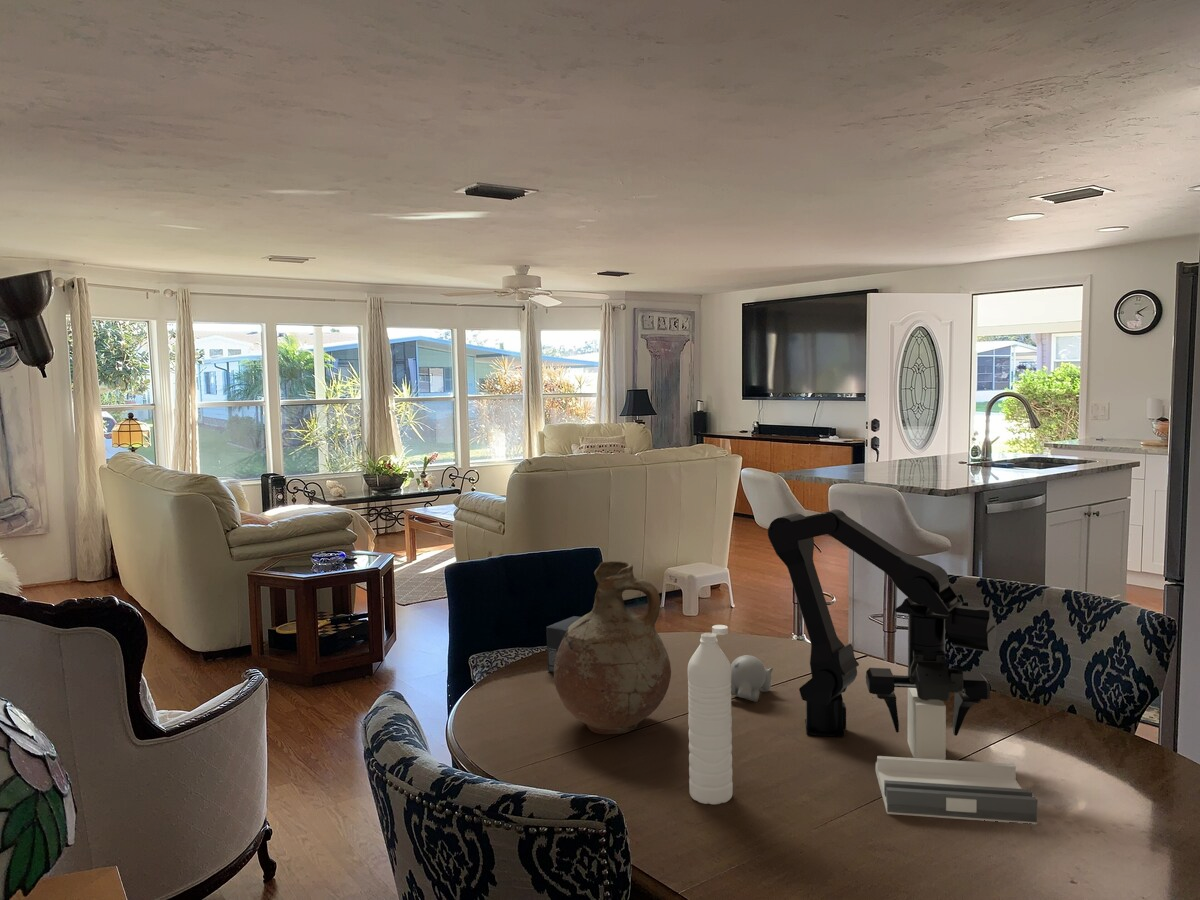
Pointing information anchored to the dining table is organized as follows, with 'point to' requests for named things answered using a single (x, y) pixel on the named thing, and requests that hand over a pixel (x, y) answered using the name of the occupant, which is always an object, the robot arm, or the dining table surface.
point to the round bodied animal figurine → (749, 677)
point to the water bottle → (710, 721)
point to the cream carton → (926, 727)
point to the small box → (556, 639)
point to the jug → (613, 657)
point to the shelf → (954, 790)
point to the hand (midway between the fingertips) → (925, 733)
